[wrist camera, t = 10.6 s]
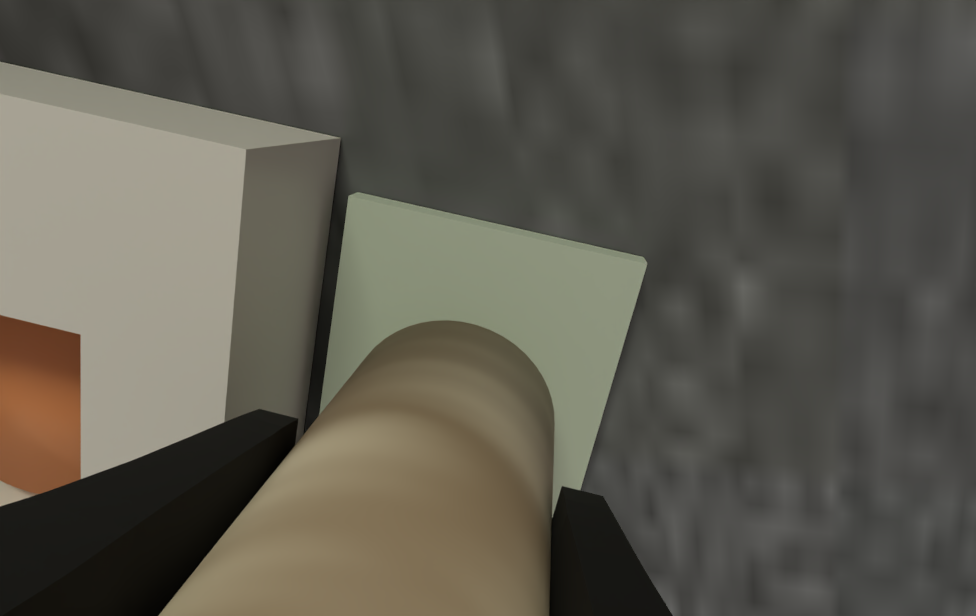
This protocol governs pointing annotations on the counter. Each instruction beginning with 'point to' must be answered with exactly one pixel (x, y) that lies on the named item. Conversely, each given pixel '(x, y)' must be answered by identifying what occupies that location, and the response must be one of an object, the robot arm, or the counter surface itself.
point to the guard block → (162, 255)
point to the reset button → (39, 406)
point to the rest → (488, 304)
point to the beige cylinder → (402, 494)
